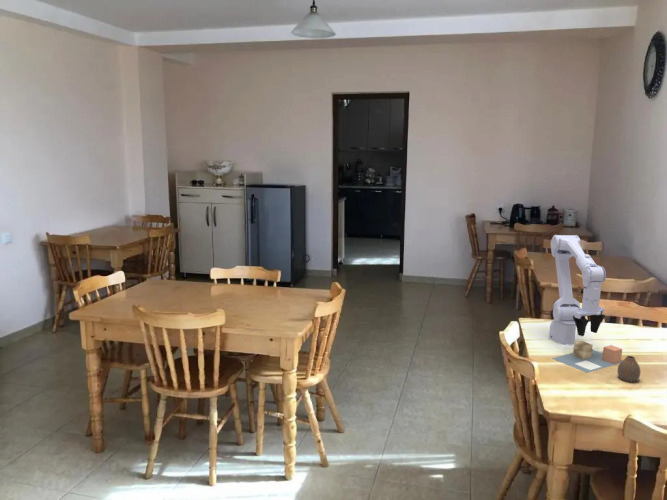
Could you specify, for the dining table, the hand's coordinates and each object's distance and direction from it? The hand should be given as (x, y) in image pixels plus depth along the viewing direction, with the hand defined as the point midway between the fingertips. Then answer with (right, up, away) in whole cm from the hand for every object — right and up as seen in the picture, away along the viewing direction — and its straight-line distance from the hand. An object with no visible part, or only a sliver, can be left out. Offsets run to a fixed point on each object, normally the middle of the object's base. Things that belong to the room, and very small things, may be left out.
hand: (587, 333), depth 211 cm
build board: (0, -10, -1) cm, 10 cm away
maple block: (-1, -9, +2) cm, 9 cm away
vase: (+6, -14, -17) cm, 23 cm away
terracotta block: (+8, -10, -2) cm, 13 cm away
